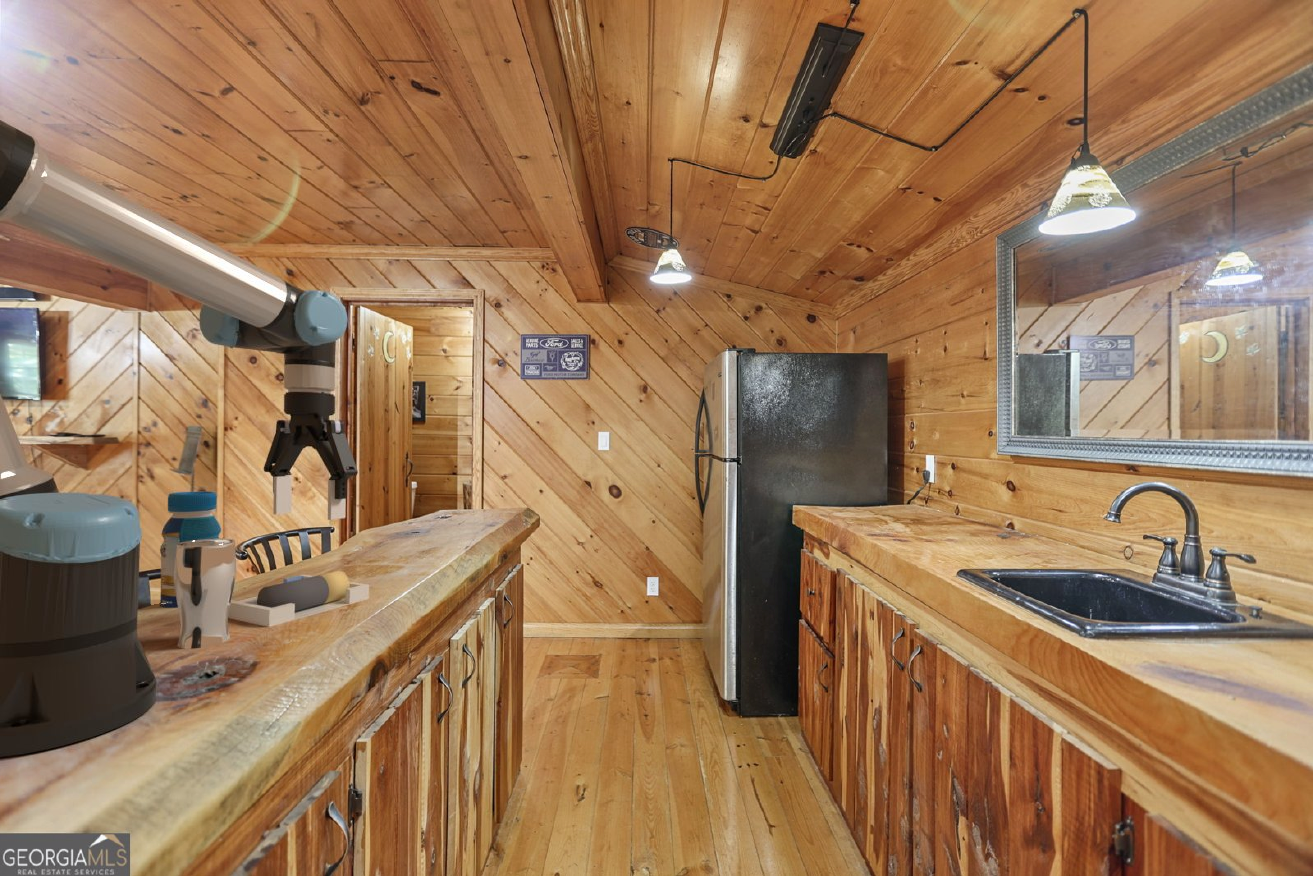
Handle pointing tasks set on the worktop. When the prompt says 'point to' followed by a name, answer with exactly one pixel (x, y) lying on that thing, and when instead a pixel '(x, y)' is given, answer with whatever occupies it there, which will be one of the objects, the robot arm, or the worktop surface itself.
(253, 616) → the beige holder tray
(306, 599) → the battery-shaped cylinder
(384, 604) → the worktop surface
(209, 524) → the beverage bottle
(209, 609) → the beer glass
